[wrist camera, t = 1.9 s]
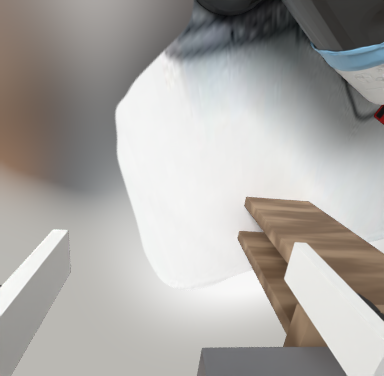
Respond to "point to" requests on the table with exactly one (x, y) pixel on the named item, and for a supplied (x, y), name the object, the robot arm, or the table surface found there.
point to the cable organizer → (367, 82)
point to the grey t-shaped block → (269, 362)
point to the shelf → (322, 244)
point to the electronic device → (380, 114)
